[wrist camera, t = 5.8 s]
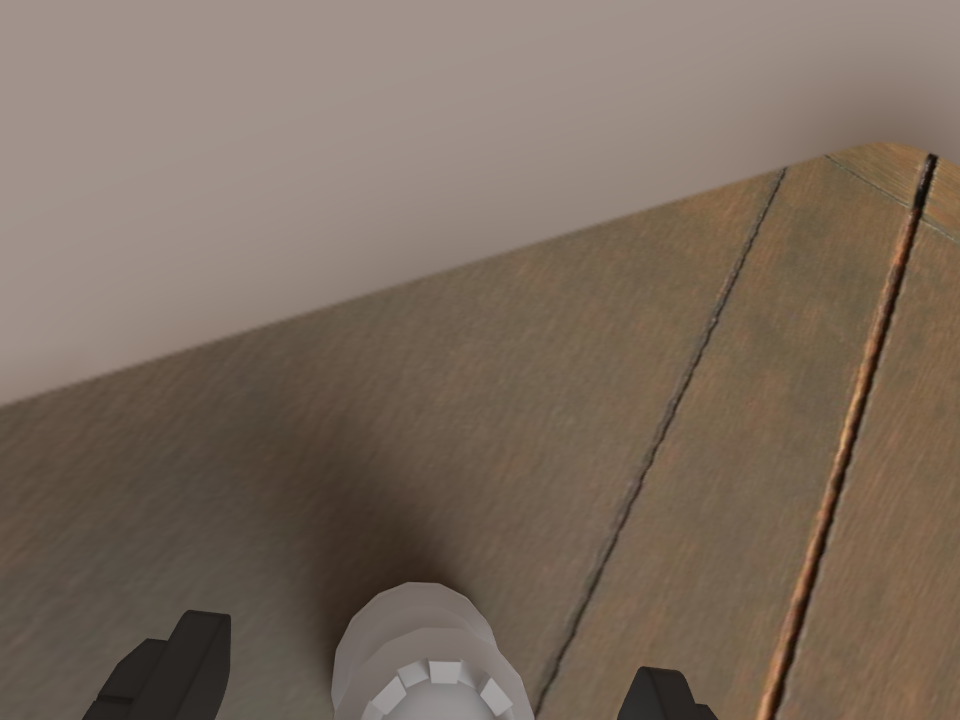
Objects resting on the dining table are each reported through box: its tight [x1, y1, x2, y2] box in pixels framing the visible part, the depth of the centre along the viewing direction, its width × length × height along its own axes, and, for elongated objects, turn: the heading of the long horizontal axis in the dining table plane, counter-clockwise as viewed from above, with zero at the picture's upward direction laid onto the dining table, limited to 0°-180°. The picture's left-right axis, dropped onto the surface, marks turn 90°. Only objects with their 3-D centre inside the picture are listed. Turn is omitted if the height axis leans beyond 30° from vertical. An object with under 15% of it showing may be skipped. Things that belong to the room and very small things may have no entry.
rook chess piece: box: [331, 582, 534, 720], centre depth 12 cm, size 4×4×8 cm
